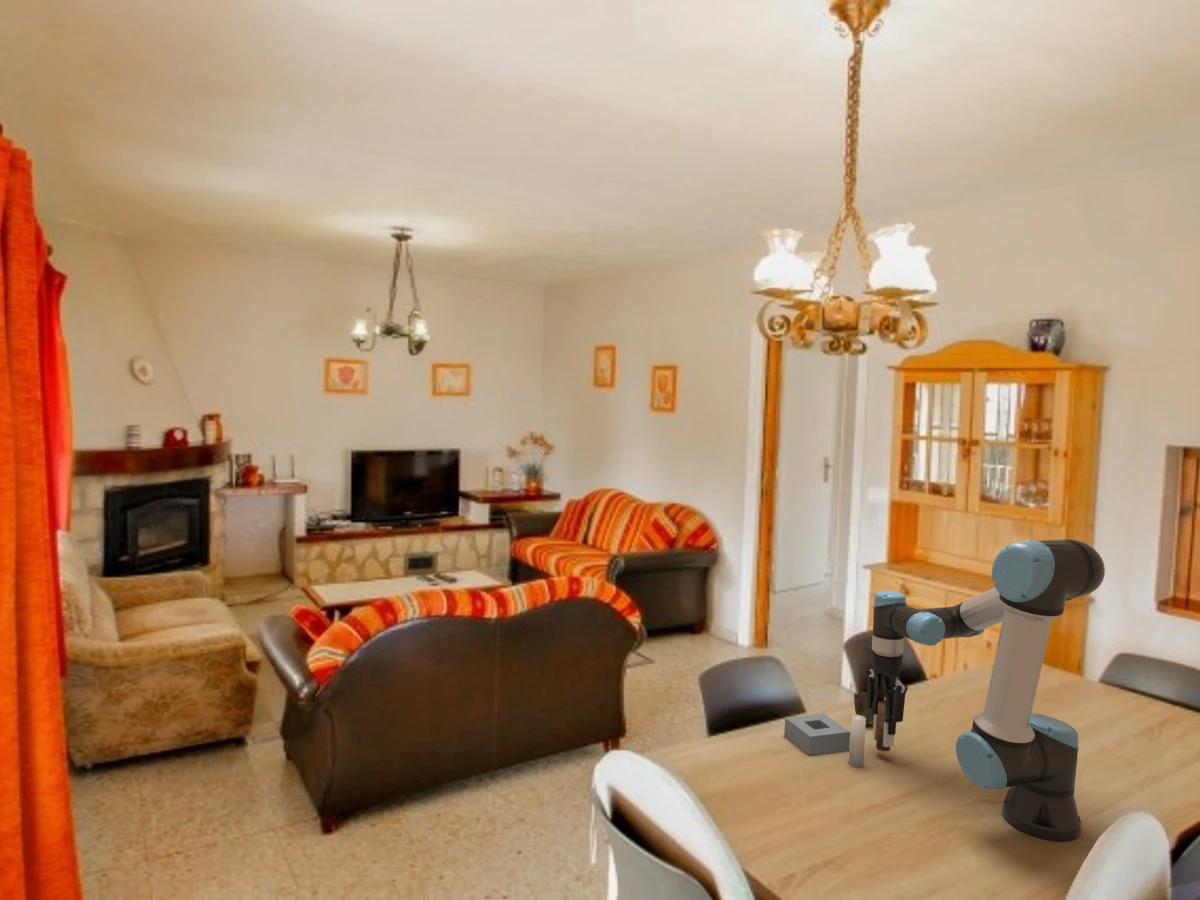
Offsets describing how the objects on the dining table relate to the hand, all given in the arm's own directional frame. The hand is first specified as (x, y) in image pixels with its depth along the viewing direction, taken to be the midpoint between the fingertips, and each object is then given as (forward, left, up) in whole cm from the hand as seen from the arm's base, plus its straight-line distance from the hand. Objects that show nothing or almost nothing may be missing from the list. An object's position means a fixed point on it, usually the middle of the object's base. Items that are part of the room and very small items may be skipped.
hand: (883, 742), depth 204 cm
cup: (+19, -9, -4) cm, 21 cm away
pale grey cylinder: (-1, +9, -4) cm, 10 cm away
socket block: (+12, +12, -4) cm, 17 cm away
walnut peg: (0, 0, -2) cm, 2 cm away
